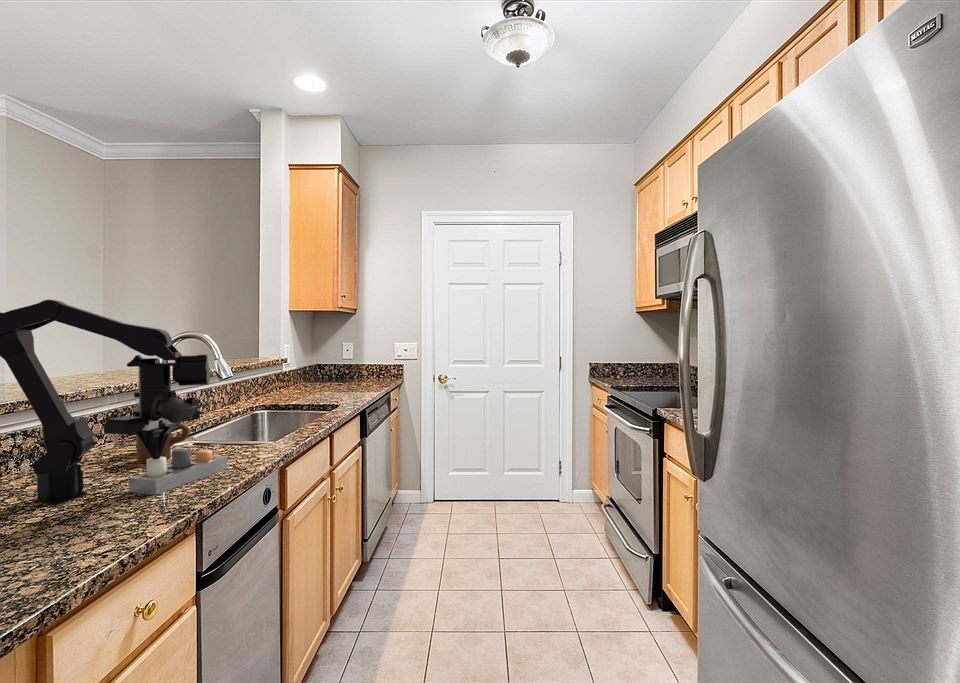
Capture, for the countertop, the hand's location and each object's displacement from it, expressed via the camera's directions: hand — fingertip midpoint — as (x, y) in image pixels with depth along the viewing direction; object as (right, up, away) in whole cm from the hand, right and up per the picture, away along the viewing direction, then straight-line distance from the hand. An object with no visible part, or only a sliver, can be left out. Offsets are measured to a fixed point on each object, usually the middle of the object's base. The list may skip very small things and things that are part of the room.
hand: (156, 458), depth 107 cm
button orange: (+3, -6, +13) cm, 14 cm away
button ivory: (0, -4, 0) cm, 4 cm away
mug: (-14, -6, +24) cm, 29 cm away
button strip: (+2, -6, +6) cm, 9 cm away
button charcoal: (+2, -4, +6) cm, 8 cm away
